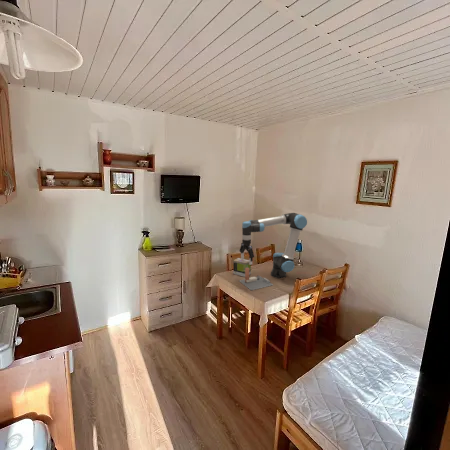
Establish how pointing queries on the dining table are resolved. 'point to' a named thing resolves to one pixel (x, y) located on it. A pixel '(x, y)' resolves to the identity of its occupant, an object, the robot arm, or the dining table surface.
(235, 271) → the tea box
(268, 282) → the stop block
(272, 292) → the dining table surface
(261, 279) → the felt mat
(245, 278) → the leg
